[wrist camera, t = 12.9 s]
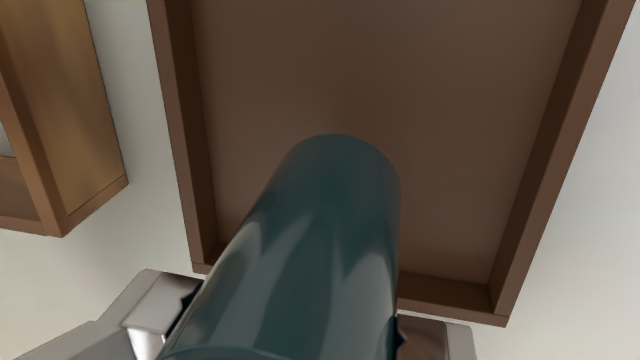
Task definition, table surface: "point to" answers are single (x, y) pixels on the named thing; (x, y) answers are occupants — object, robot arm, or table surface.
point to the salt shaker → (305, 265)
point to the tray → (391, 120)
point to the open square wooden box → (53, 119)
